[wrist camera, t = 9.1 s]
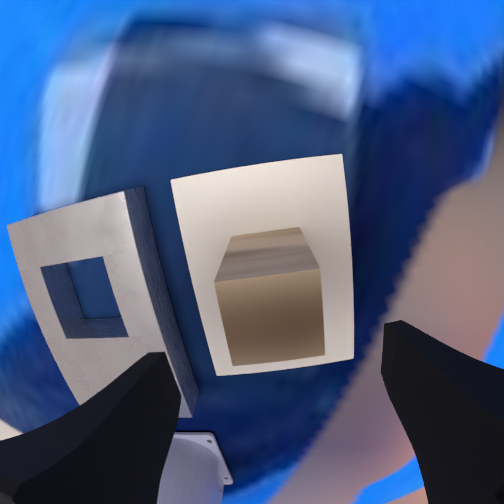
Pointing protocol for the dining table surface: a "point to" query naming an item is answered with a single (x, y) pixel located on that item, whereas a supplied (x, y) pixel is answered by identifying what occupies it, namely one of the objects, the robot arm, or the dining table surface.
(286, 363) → the pad
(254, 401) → the dining table surface
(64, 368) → the white frame
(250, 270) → the peg
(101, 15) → the dining table surface
